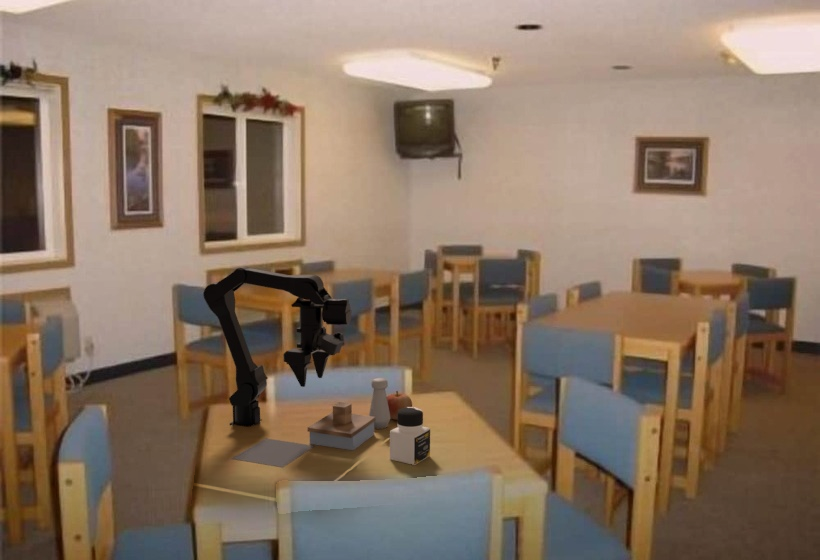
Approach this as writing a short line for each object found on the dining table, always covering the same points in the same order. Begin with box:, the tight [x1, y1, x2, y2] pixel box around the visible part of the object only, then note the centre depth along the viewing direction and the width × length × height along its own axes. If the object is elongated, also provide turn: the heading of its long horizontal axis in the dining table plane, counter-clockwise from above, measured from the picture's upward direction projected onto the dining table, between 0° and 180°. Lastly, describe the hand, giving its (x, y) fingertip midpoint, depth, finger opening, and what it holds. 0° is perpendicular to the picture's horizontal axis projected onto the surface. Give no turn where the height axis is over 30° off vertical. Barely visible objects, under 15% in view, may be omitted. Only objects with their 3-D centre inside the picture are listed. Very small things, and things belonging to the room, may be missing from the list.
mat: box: [231, 438, 315, 468], centre depth 184 cm, size 14×15×1 cm
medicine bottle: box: [389, 406, 431, 466], centre depth 182 cm, size 7×7×12 cm
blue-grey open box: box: [309, 422, 375, 451], centre depth 193 cm, size 12×12×4 cm
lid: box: [307, 401, 376, 438], centre depth 193 cm, size 12×14×6 cm
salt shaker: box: [368, 377, 391, 430], centre depth 204 cm, size 6×6×13 cm
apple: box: [386, 390, 413, 421], centre depth 211 cm, size 8×8×8 cm
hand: (311, 382), depth 202 cm, fingers open, 9 cm apart
